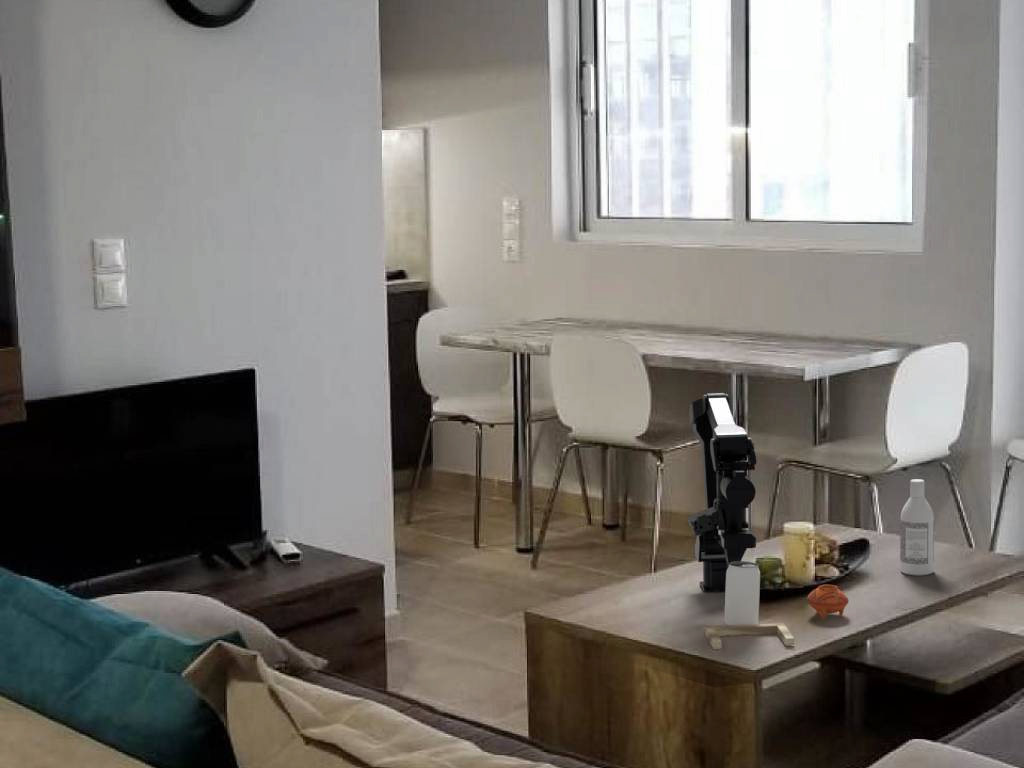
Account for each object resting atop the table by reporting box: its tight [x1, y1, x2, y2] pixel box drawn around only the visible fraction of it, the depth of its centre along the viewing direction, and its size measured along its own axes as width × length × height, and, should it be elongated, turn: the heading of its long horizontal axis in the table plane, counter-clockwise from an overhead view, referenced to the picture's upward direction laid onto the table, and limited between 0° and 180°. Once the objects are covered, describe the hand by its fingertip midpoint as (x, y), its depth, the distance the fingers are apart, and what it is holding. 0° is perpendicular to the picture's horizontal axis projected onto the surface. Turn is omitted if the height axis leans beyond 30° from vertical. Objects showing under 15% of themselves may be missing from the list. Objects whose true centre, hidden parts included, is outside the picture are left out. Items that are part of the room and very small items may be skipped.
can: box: [723, 560, 761, 626], centre depth 313 cm, size 6×6×12 cm
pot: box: [806, 584, 849, 621], centre depth 319 cm, size 8×8×7 cm
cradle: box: [704, 622, 795, 650], centre depth 305 cm, size 10×15×2 cm, turn 92°
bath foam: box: [899, 478, 935, 576], centre depth 347 cm, size 7×7×20 cm
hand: (732, 573), depth 321 cm, fingers closed
